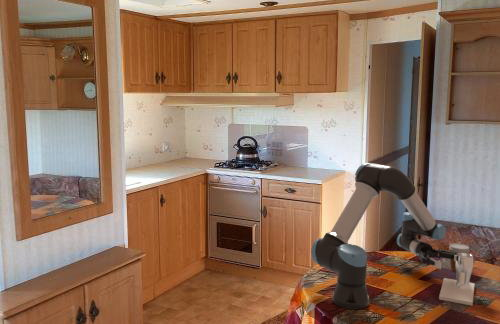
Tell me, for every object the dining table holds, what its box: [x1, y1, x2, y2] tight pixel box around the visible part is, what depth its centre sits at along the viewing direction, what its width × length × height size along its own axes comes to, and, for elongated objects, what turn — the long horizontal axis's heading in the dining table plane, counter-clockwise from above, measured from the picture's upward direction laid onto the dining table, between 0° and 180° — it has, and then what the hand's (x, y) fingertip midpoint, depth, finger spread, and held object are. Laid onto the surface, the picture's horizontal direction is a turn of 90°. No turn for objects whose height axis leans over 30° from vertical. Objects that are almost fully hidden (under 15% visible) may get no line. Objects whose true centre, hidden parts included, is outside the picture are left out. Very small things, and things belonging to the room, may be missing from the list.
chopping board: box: [438, 277, 475, 306], centre depth 209 cm, size 22×13×2 cm, turn 153°
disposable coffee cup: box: [448, 242, 471, 272], centre depth 235 cm, size 10×10×12 cm
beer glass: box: [455, 253, 474, 290], centre depth 209 cm, size 7×7×15 cm
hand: (453, 264), depth 211 cm, fingers open, 13 cm apart
